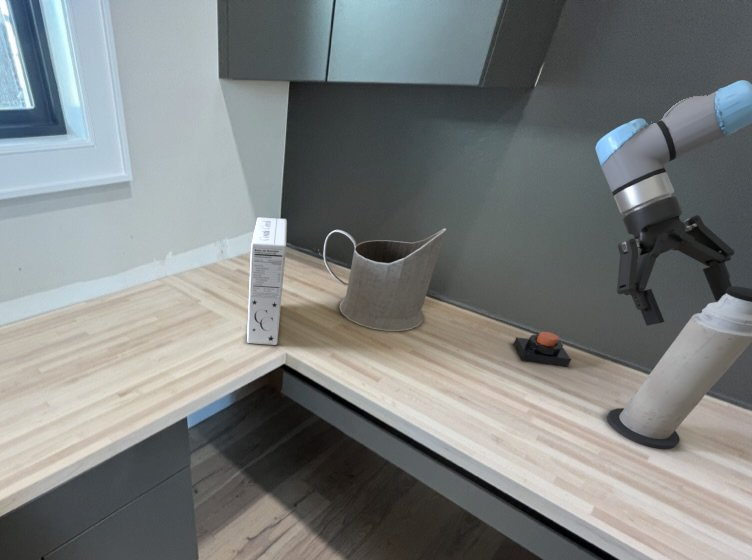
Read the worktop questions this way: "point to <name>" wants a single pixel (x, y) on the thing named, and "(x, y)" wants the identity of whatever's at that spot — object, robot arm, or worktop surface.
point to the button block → (541, 352)
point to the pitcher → (389, 281)
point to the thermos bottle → (692, 365)
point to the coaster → (647, 441)
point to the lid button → (547, 339)
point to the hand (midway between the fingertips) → (690, 311)
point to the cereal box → (266, 280)
